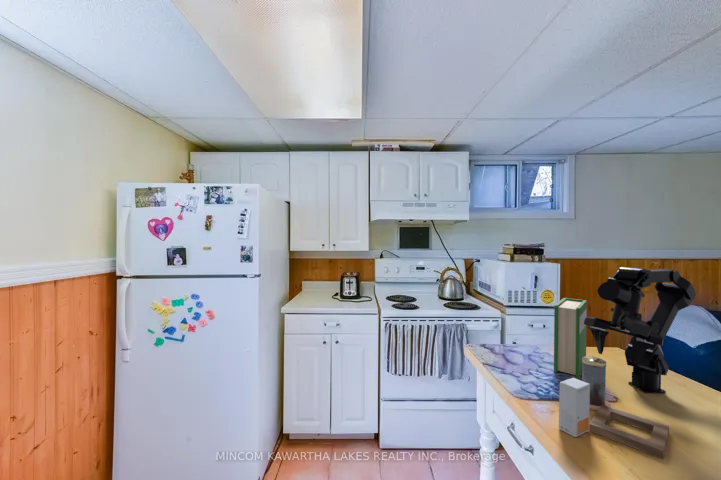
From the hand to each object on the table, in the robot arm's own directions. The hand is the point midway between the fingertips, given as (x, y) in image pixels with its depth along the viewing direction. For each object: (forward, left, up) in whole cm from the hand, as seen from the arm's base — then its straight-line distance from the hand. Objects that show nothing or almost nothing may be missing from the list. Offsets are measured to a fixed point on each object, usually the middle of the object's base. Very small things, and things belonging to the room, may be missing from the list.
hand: (616, 358), depth 94 cm
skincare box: (+23, +15, -12) cm, 30 cm away
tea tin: (+9, +3, -11) cm, 15 cm away
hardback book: (-1, -22, -12) cm, 25 cm away
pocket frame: (+10, +16, -12) cm, 23 cm away
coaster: (+9, +3, -12) cm, 16 cm away
